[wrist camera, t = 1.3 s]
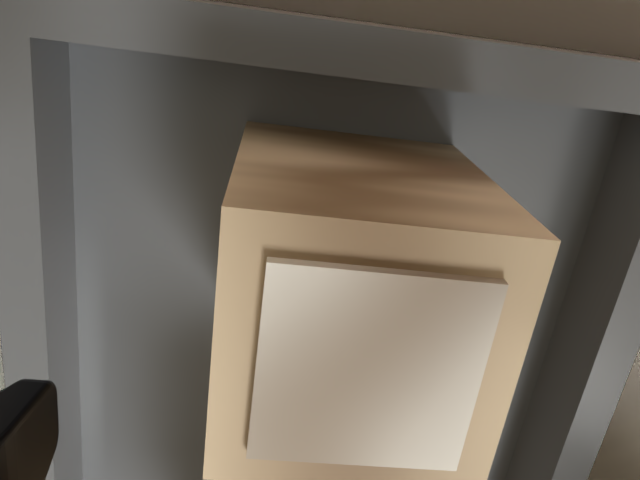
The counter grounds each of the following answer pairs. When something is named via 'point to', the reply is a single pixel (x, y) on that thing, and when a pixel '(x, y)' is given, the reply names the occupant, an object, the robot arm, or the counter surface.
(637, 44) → the counter surface
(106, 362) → the charcoal bin
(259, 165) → the labelled block
